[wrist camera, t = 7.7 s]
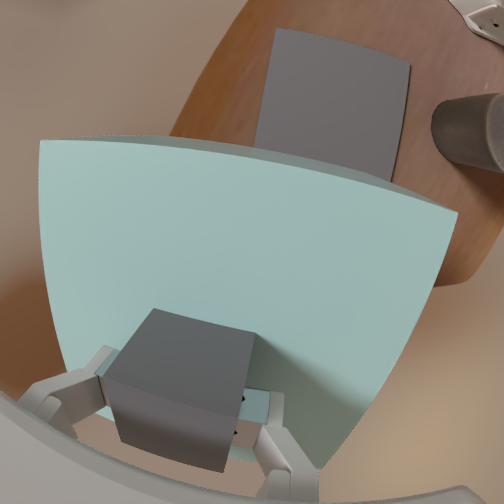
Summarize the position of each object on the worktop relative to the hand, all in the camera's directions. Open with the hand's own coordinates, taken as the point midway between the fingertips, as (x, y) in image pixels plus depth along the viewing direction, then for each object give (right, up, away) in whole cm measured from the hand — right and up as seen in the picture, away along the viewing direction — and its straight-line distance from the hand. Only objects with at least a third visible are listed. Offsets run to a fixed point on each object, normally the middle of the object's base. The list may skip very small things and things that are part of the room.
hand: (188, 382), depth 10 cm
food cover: (+2, +5, +14) cm, 15 cm away
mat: (+13, +24, +24) cm, 36 cm away
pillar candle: (+32, +22, +22) cm, 45 cm away
